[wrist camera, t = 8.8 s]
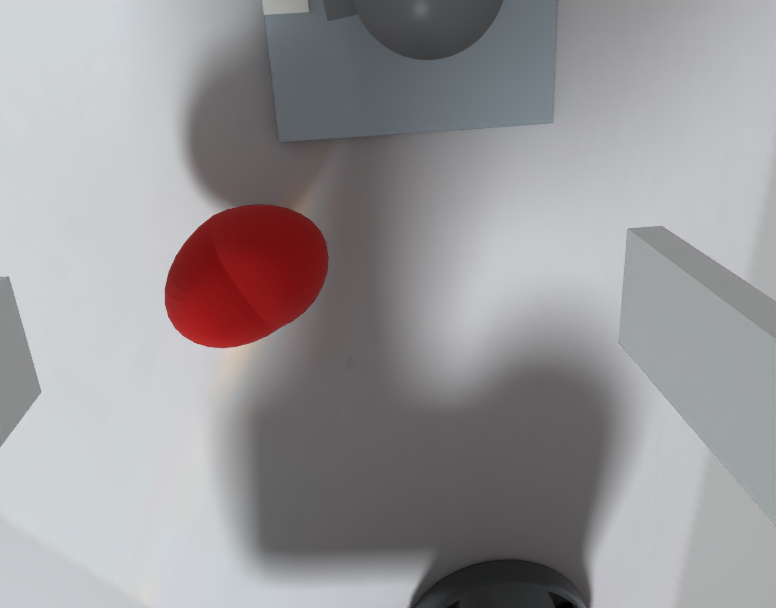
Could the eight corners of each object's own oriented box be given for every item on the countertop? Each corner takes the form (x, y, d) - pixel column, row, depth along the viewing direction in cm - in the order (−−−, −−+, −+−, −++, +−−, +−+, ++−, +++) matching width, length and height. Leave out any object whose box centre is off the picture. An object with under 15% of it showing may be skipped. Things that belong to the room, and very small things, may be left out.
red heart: (290, 151, 42) (280, 191, 33) (352, 246, 45) (358, 308, 36) (162, 230, 44) (118, 290, 34) (229, 318, 46) (205, 396, 37)
